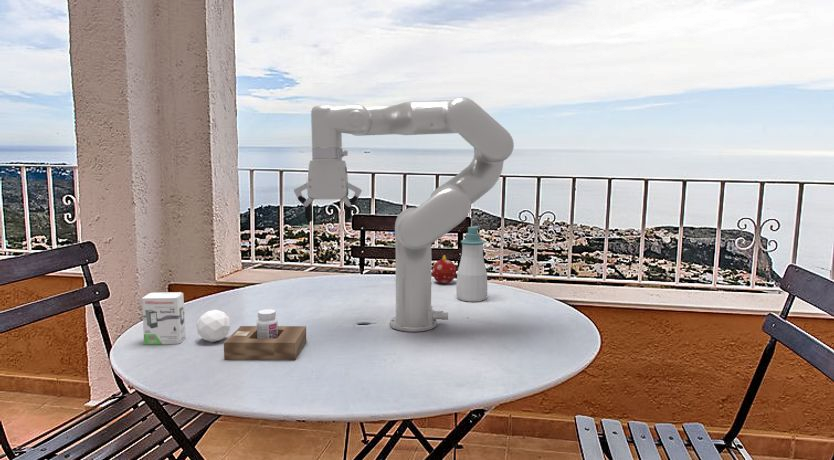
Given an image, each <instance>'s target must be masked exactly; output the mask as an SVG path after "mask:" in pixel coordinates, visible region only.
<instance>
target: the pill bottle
mask: <svg viewBox="0 0 834 460" xmlns="http://www.w3.org/2000/svg"><path fill="white" fill-rule="evenodd" d="M276 313H277V311H276V310H275V309H271V308H270V309H268V308H267V309H266V308H265V309H260V310H259V311H257V320H256V326H257V339H277V338H278V326H279V325H278V319H277V318H276V315H277V314H276Z"/></svg>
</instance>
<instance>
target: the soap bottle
mask: <svg viewBox="0 0 834 460" xmlns="http://www.w3.org/2000/svg"><path fill="white" fill-rule="evenodd" d="M480 228H481V226H480V225H475V226H468V227H467V232H466V233H465V238H463V239H462V240H460V243H461V256H460V260H459V261H460V262H459V264H458V265H459V266H458V269H457V271H456V295H455V296H456V297H457V299H458V300H461V301H463V302H470V303H474V302H482V300H483V301H485V300H486V299H487V297H488V273H487V268H486V264H485V260H484V244H485V241H484V240H483V239H481V234H480V233H479V232H478V230H479V229H480Z"/></svg>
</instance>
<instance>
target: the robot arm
mask: <svg viewBox="0 0 834 460" xmlns="http://www.w3.org/2000/svg"><path fill="white" fill-rule="evenodd" d="M310 112H311V113H310V117H311V120H310V123H311V155H312V156H311V157H312V160H309V164H308V170H307V182H305V183H304V184H302V185H300V186H298V187H296V188H294V189H293V193H294V195H295V196H296V197H297V199H298V201H299V202H300V203H301V204H302V205H303V207H304V214H305V215H304V217H305V218H304V219H306V221H307V223H311V222H313V220H314V219H313V206H312V203H313V201H315V200H341V201H342V202H343V203H344V204H345V206H344V223H349V222H350V219H352V206H353V205H354V204H355V203H356V202H357V201H358V199H359V197H360V195H361V194H362V192H363V190H362V189H361V188H360V187H358V186H356V185H354V184H352V183H350V182H349V178H348V169H347V162H346V160H343V157H347V156H348V155H349V154H348V153H349V152H348V150H345V149H343V148H342V147H343V142H342V141H343V140H342V139H343V138H342V137H343V134H346V135H347V134H348V135H349V134H350V135H353V136H357V137H359V136H361V137H364V136H383V135H384V136H385V135H386V136H387V135H401V136H416V135H417V136H418V135H421V136H422V135H423V136H424V135H439V134H440V135H443V134H458V135H459V136H461V138H463V139H464V141H466V142H467V143H468V144H469V145H470V146H471V147H473V158H472V161H471V162H470V163H469V164H468V166H467V167H465V168H464V169H463V170H461V171H460V172H459V173H457V174H456V175H455V176H453V177H452V178H451V179H448V181H446V182H444V183H443V184H442V185H440V186H438V187H436V189H434V190H433V191H432V192H431V195H430V197H429V198H428V199H427V200H426V201H424V202H422V203H421V204H420V205H418V206H416V207H408V208H405V209H403V210H402V211H401V212H400V213H399V214H398V215H397V217H396V220H395V223H394V241H395V242H394V243H395V316H394V317H392V318H391V319H390V320H389V324H390V327H391V328H393V329H395V330H397V331H401V332H414V333H415V332H425V331H430V330H432V329H435V328H436V327H437V324H438V321H437V320H442V321H444V320H445V321H448V320H449V312H444V311H443V310H435V309H433V305H432V268H433V267H432V265H433V264H432V262H433V260H432V257H433V255H432V244H433V243H435V242H436V241H437V240H440V238H441V237H443V236H445V235H446V234H447V233H448V232H450V231H452V230H453V229H454V228H456V227H457V226H458V225H460V224H461V223H462V222H463V221H464V220H465V219H466V218H467V216H468V215H469V213H470V211H471V206H472V205H473V204H474V203H475V202H476V201H478V200H480V198H482V197H483V196H485V195H486V194H487V193H488V192H489V191H490V190H492V189H493V188H494V186H495V185H496V184H497V182H498V181H499V180H500V176H501V174H502V171H503V168H504V161H506V160H508V159H509V157H511V155H512V153H513V151H514V146H515V145H514V144H515V143H514V139H513V136H511V133H510V132H509V131H508V130H507V128H505V127H503V125H501V124H500V123H499V122H498V121H497V120H495V118H493V117H492V116H491V115H490V114H489V113H488V112H487V111H485V109H483V108H482V107H481V106H480V105H479V104H478V103H477V102H475V101H474V100H472V99H471V98H469V97H464V96H461V97H456V98H455V99H441V100H412V101H405V102H401V103H398V104H394V105H386V106H384V105H383V106H366V107H365V106H364V105H362V104H357V103H356V104H347V105H338V106H337V105H331V104H330V105H328V104H327V105H326V104H322V105H321V104H320V105H315V106H313V107H312V109H311V111H310ZM305 190H307V193H306V194H307V198H305V196H304V195H303V194H302V191H305ZM349 190H351V191H353V192H354V195H353V196H352V197H351V198H349V197H348V196H349Z"/></svg>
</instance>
